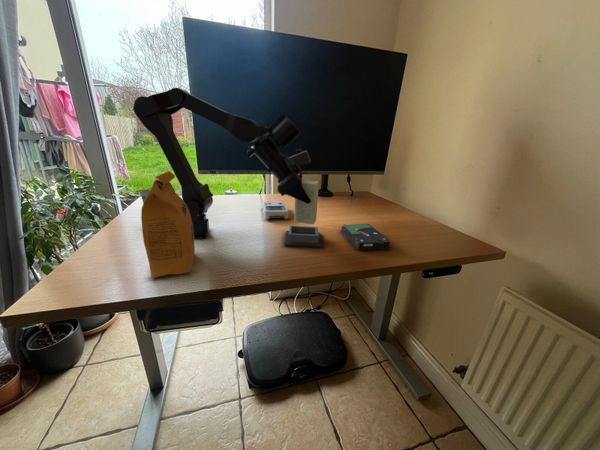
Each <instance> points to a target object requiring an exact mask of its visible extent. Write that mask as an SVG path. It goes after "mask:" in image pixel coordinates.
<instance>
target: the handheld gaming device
mask: <svg viewBox="0 0 600 450" xmlns="http://www.w3.org/2000/svg"><path fill="white" fill-rule="evenodd" d="M262 211H263V217H264V219H265V220H269V219H279V218H280V219H281V218H282V219H283V218H284V219H285V220H288V219H289V213H290V212H289V210H288V208H287V206H286V204H285V202H284V200H266V201H264V202H263V203H262Z"/></svg>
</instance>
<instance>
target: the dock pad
mask: <svg viewBox="0 0 600 450" xmlns="http://www.w3.org/2000/svg"><path fill="white" fill-rule="evenodd" d="M284 247H291V248H292V247H293V248H294V247H295V248H311V249H312V248H315V249H322V248H323V245H322V238H321V233H320V232H319V227H318V226H307V225H306V226H305V225H289V227H288V230H286V232H285V240H284Z"/></svg>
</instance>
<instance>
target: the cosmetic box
mask: <svg viewBox="0 0 600 450" xmlns="http://www.w3.org/2000/svg"><path fill="white" fill-rule="evenodd" d="M319 185H320V181H318V180H308V179H302V187H303V189H304V190H305V192H306V194H307V195H308V197H309V198H310V200H311V202H310V203H309V204H307V203H305V202H303V201H301V200H298V199H296V198H294V215H293V217H294V218H293V222H294V223H299V224H307V225H315V223H316V221H317V216H318V215H317V213H318V201H319Z"/></svg>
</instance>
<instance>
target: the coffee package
mask: <svg viewBox="0 0 600 450" xmlns="http://www.w3.org/2000/svg"><path fill="white" fill-rule="evenodd" d="M175 177H176V175H175V173H173V172H172V171H171V170H166V171H165V172H163V173H160V174H158V175H156V176H154V180H153V184H152V186H151V187H152V188H151V187H150V188H151V189H150V191H149V193H148V195H147V197H146V199H145V200H144V203H143V202H142V207H141V214H140V215H141V217H140V218H141V219H140V220H141V231H142V239H143V241H142V242H143V244H144V249H145V252H146V255H147V256H146V257H147V260H148V264H149V271H150V277H151V278H154V279H155V278H159V277H165V276H168V275H182V274H185V273H189V272H191V271H192V269H193V265H194V260H195V253H196V247H195V246H196V245H195V238H194V230H193V225H192V219H191V215H190V212H189V210H188V207H187V205H186V204H185V202H184V201H183V199H182V196H180V195H179V194H178V193H177V192H176V190H175V188H174V186H173V185H172V182H171V181H173V180H174V179H175Z"/></svg>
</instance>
